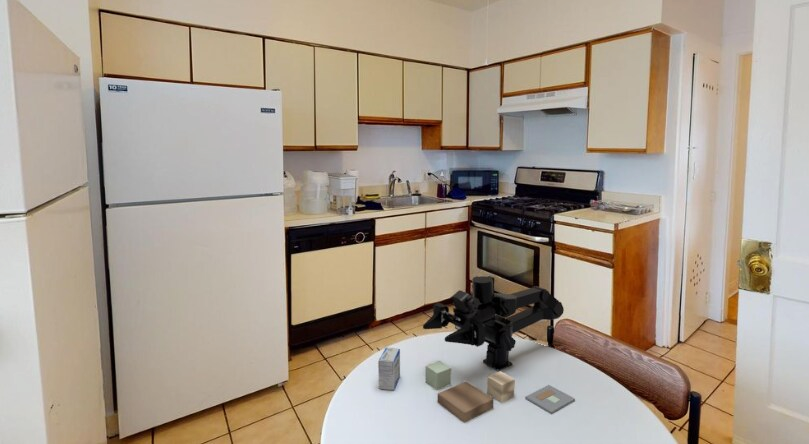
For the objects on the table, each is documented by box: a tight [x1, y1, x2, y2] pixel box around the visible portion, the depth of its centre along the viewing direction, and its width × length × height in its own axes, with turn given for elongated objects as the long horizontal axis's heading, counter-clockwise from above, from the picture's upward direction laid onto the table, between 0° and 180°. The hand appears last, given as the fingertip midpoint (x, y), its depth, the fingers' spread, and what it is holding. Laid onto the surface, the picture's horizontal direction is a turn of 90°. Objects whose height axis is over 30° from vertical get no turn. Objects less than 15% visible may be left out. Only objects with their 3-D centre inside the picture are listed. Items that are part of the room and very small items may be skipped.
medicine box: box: [377, 347, 401, 391], centre depth 118 cm, size 8×4×9 cm, turn 168°
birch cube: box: [486, 370, 516, 403], centre depth 112 cm, size 5×5×5 cm
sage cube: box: [425, 360, 452, 391], centre depth 118 cm, size 5×5×5 cm
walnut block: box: [436, 381, 494, 423], centre depth 108 cm, size 10×10×3 cm
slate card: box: [524, 384, 576, 415], centre depth 110 cm, size 10×8×1 cm
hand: (433, 333), depth 112 cm, fingers open, 9 cm apart
